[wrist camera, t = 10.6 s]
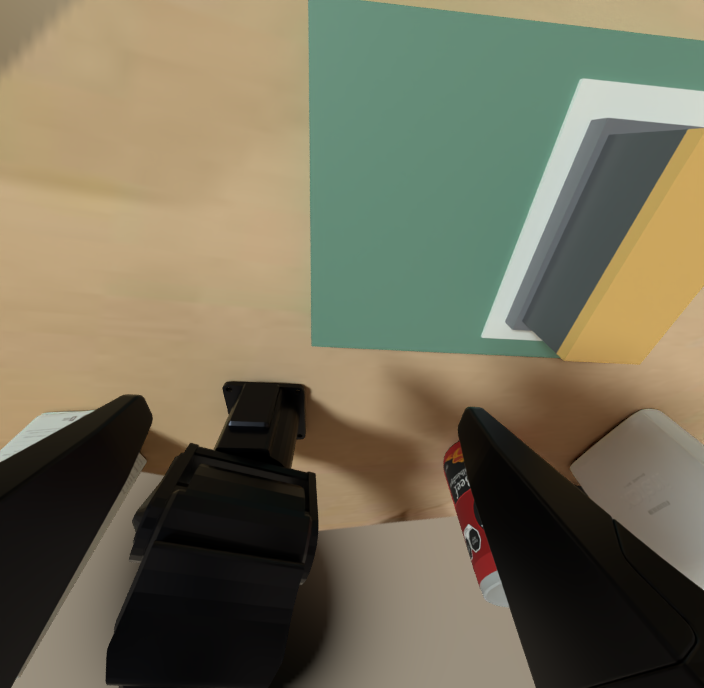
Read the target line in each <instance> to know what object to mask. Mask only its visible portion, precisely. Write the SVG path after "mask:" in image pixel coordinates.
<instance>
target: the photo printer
mask: <svg viewBox="0 0 704 688" xmlns="http://www.w3.org/2000/svg"><path fill="white" fill-rule="evenodd" d="M570 470H571V472H572V474H573V475H574V477H575V478H576V479H577V481H578V482H579V484H580V485H581V486H582V488H583V489H584V491H585V492H586V493H587V495H588V496H589V498H590V499H592V500H593V501H594V502H595V503H596V504H598V505H599V506H600V507H601V508H602V509H604V510H605V511H606V512H607V513H608V514H609V515H611V517H612V519H616V520H617V521H618V522H619V523H620V524H622V525H623V526H624V527H625V528H626V529H628V530H629V531H630V532H631V533H632V534H634V535H635V536H636V537H637V538H638V539H640V540H641V541H642V542H643V543H645V544H646V545H647V546H648V547H649V548H651V549H652V550H653V551H654V552H656V553H657V554H658V555H659V556H661V557H662V558H663V559H664V560H666V561H667V562H668V563H669V564H671V565H672V566H673V567H675V568H676V569H677V570H678V571H680V572H681V573H682V574H684V575H685V576H686V577H687V578H689V579H690V580H691V581H693V582H694V583H695V584H696V585H698V586H699V587H700V588H702V589H703V590H704V445H703V444H702V443H701V442H699V441H698V440H697V439H696V438H694V437H693V436H692V435H691V434H689V433H688V432H687V431H686V430H684V429H683V428H682V427H680V426H679V425H678V424H677V423H675V422H674V421H673V420H672V419H670V418H669V417H668V416H667V415H665V414H664V413H663V412H661V411H659V410H657V409H643V410H640V411H638V412H636V413H635V414H633V415H632V416H630V417H629V418H627V419H626V420H625V421H623V422H622V423H621V424H620V425H618V426H617V427H616V428H615V429H613V430H612V431H611V432H610V433H608V434H607V435H606V436H605V437H603V438H602V439H601V440H600V441H598V442H597V443H596V444H595V445H594V446H592V447H591V448H590V449H589V450H588V451H586V452H585V453H584V454H583V455H582V456H581V457H579V458H578V459H577V460H576V461H575V462H574V463H573V464H572V465H571V466H570Z"/></svg>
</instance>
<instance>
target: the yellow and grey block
mask: <svg viewBox="0 0 704 688" xmlns="http://www.w3.org/2000/svg"><path fill="white" fill-rule="evenodd" d="M703 286H704V128H698V129H684V130H670V131H656V132H641V133H627V134H613V135H609V136H608V138H607V140H606V142H605V144H604V146H603V148H602V151H601V153H600V155H599V157H598V159H597V161H596V164H595V166H594V168H593V170H592V172H591V174H590V176H589V179H588V181H587V183H586V185H585V187H584V189H583V191H582V194H581V196H580V198H579V200H578V202H577V204H576V206H575V209H574V211H573V213H572V215H571V217H570V219H569V221H568V224H567V226H566V228H565V230H564V232H563V234H562V236H561V239H560V241H559V243H558V245H557V247H556V249H555V251H554V254H553V256H552V258H551V260H550V262H549V264H548V266H547V269H546V271H545V273H544V275H543V277H542V279H541V281H540V284H539V286H538V288H537V290H536V292H535V294H534V296H533V299H532V301H531V303H530V305H529V307H528V309H527V311H526V314H525V316H524V318H523V320H522V322H523V323H525V324H526V325H527V326H528V327H529V328H530V329H531V330H532V331H533V332H534V333H535V334H536V335H537V336H538V337H539V338H540V339H541V340H542V341H544V342H545V343H546V344H547V345H548V346H549V347H550V348H551V349H552V350H553V351H554V352H555V353H556V354H557V355H558V356H559V357H560V358H561V359H562V360H564V361H577V362H598V363H619V364H641V362H642V361H643V360H644V359H645V358H646V356H647V355H648V354H649V353H650V351H651V350H652V349H653V348H654V346H655V345H656V344H657V343H658V342H659V340H660V339H661V338H662V337H663V335H664V334H665V333H666V332H667V330H668V329H669V328H670V327H671V325H672V324H673V323H674V322H675V321H676V319H677V318H678V317H679V316H680V314H681V313H682V312H683V311H684V309H685V308H686V307H687V306H688V305H689V303H690V302H691V301H692V300H693V298H694V297H695V296H696V295H697V293H698V292H699V291H700V290H701V288H702V287H703Z"/></svg>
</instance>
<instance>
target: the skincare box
mask: <svg viewBox="0 0 704 688" xmlns="http://www.w3.org/2000/svg"><path fill="white" fill-rule="evenodd" d="M93 411H95V410H90V411H76V412H52V413H43V414H42V415H40V416H37V417H36V418H35V419H34V420H33V421H32V422H30V423H29V424H28V425H27V426H26V427H25V428H24V429H23V430H22V431H21V432H20V433H19V434H18V435H16V436H15V437H14V438H13V439H12V440H11V441H10V442H9V443H8V444H7V445H6V446H5V447H4V448H2V449H1V450H0V462H1V461H3V460H5V459H7V458H9V457H10V456H12V455H14V454H16V453H18V452H20V451H21V450H23V449H25V448H27V447H29V446H30V445H32V444H34V443H36V442H38V441H40V440H41V439H43V438H45V437H47V436H49V435H51V434H52V433H54V432H56V431H58V430H60V429H62V428H63V427H65V426H67V425H69V424H71V423H73V422H74V421H76V420H78V419H80V418H82V417H84V416H85V415H87V414H89V413H91V412H93ZM146 462H147V460H146V459H145V458H144V457H143V456H142V455H141V454H140V453H139V455H138V457H137V459H136V461H135V464H134V466H133V468H132V470H131V473H130V475H129V477H128V479H127V481H126V483H125V484H124V486H123V488H122V490H121V492H120V494H119V495H118V497H117V499H116V501H115V503H114V504H113V506H112V508H111V510H110V511H109V513H108V515H107V517H106V519H105V520H104V522H103V524H102V526H101V528H100V529H99V531H98V533H97V535H96V537H95V538H94V540H93V542H92V544H91V545H90V547H89V549H88V551H87V553H86V554H85V556H84V558H83V560H82V562H81V563H80V565H79V567H78V569H77V571H76V572H75V574H74V576H73V578H72V579H71V581H70V583H69V585H68V587H67V588H66V590H65V592H64V594H63V596H62V597H61V599H60V601H59V603H58V605H57V606H56V608H55V610H54V612H53V614H52V615H51V617H50V619H49V621H48V622H47V624H46V626H45V628H44V630H43V631H42V633H41V635H40V637H39V639H38V640H37V642H36V644H35V646H34V648H33V649H32V651H31V653H30V655H29V656H28V658H27V660H26V662H25V664H24V665H23V667H22V669H21V671H20V673H19V674H18V676H17V678H19V677H20V676H21V675H22V673H23V671H24V670H25V668H26V666H27V664H28V663H29V661H30V659H31V658H32V656H33V654H34V652H35V651H36V649H37V647H38V646H39V644H40V642H41V641H42V639H43V637H44V636H45V634H46V632H47V630H48V629H49V627H50V625H51V624H52V622H53V620H54V618H55V617H56V615H57V613H58V612H59V610H60V608H61V606H62V605H63V603H64V601H65V599H66V598H67V596H68V594H69V593H70V591H71V589H72V588H73V586H74V584H75V583H76V581H77V579H78V578H79V576H80V574H81V572H82V571H83V569H84V567H85V566H86V564H87V562H88V561H89V559H90V557H91V556H92V554H93V552H94V550H95V549H96V547H97V545H98V544H99V542H100V540H101V538H102V537H103V535H104V533H105V532H106V530H107V528H108V527H109V525H110V523H111V522H112V520H113V518H114V516H115V515H116V513H117V511H118V510H119V508H120V506H121V504H122V503H123V501H124V500H125V498H126V496H127V494H128V492H129V491H130V489H131V487H132V486H133V484H134V483H135V481H136V479H137V477H138V476H139V474H140V472H141V471H142V469H143V467H144V466H145V464H146ZM17 678H16V679H17Z"/></svg>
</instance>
